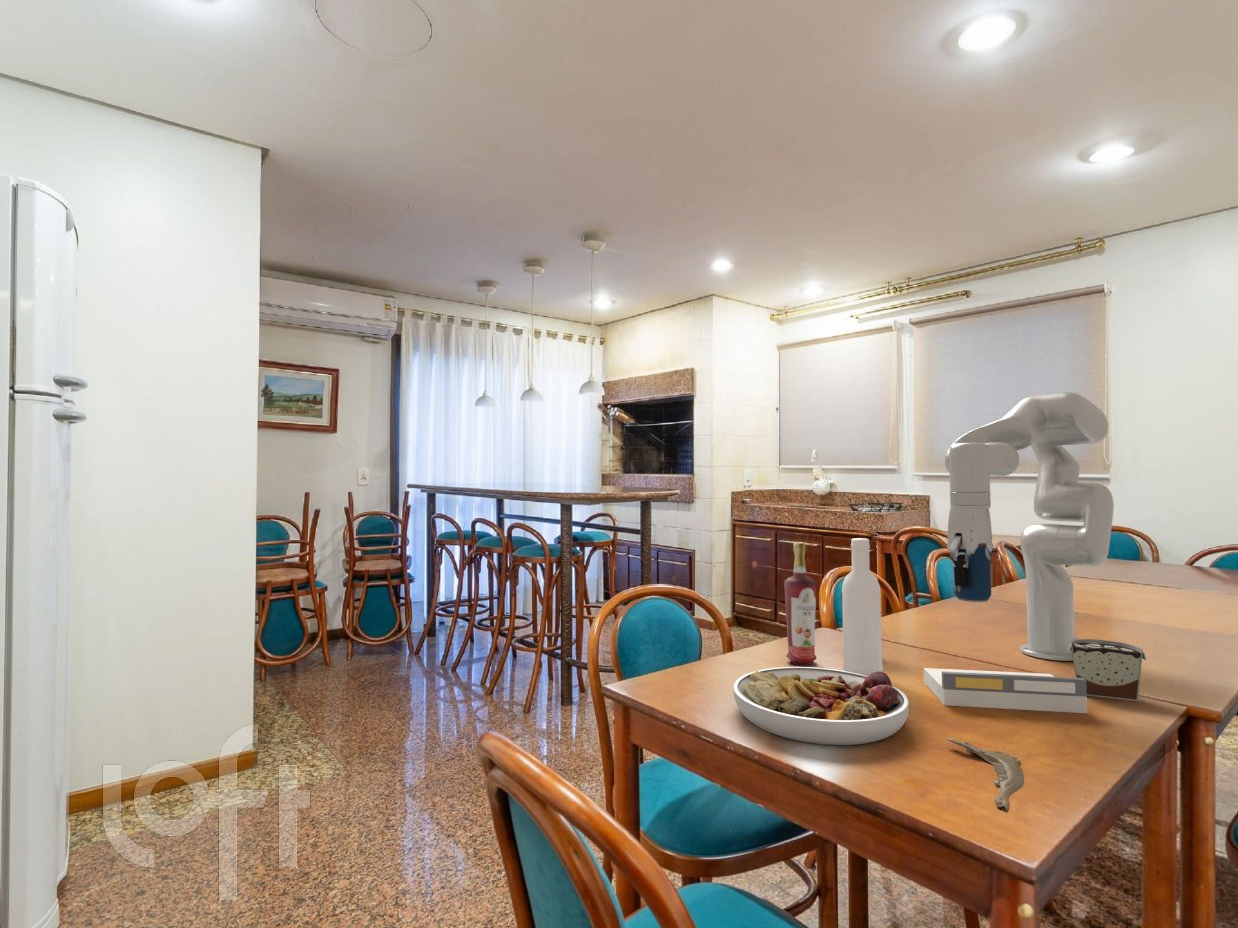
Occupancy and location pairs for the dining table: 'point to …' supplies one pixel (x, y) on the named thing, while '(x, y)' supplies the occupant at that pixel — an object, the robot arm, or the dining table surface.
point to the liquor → (800, 611)
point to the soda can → (977, 577)
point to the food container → (1108, 667)
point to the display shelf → (1007, 690)
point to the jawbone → (1000, 771)
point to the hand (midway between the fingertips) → (972, 583)
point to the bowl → (822, 704)
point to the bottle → (861, 614)
